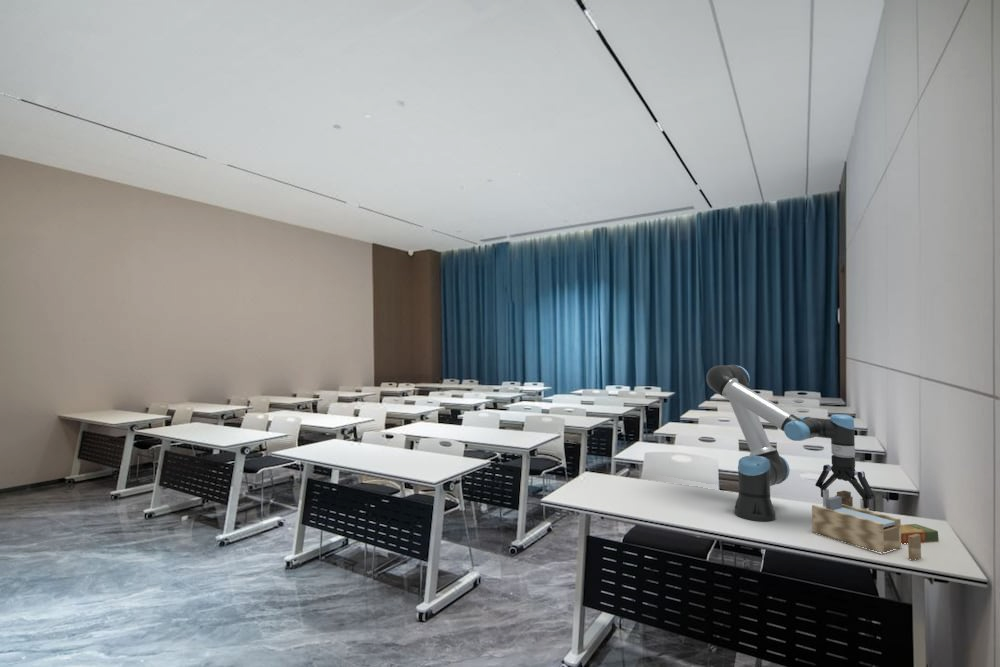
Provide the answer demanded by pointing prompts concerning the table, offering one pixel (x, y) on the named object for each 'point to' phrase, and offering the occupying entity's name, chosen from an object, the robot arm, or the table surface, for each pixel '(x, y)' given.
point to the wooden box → (863, 530)
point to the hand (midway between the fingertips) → (844, 511)
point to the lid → (836, 505)
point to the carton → (925, 533)
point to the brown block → (846, 497)
